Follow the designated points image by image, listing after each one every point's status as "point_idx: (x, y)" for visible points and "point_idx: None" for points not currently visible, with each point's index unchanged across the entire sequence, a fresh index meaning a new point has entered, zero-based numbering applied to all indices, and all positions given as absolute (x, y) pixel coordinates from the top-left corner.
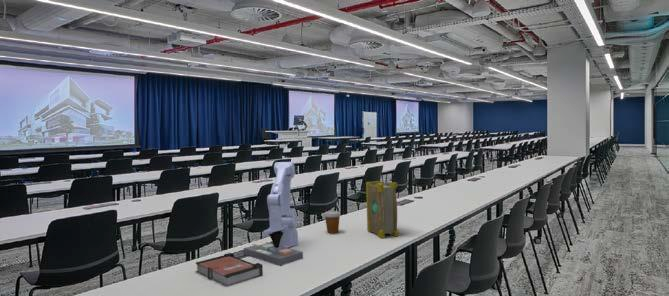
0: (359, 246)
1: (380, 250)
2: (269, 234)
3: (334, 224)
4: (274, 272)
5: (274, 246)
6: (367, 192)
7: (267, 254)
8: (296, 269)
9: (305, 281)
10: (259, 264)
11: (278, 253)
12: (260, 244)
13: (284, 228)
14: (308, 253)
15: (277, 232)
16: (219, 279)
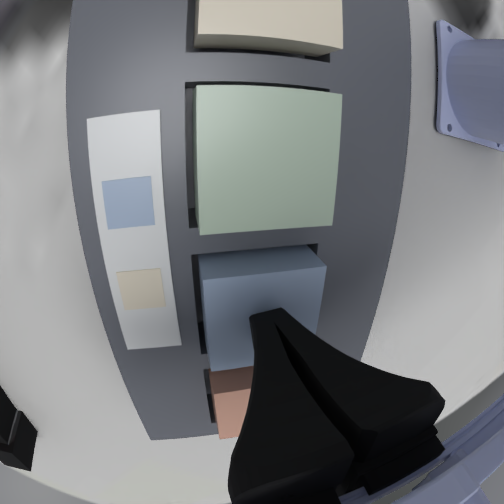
0: (492, 347)
1: (462, 398)
2: (231, 478)
3: None
4: (89, 441)
5: (251, 330)
6: None
7: (123, 335)
8: (187, 459)
9: (150, 500)
10: (18, 464)
11: (210, 379)
12: (244, 11)
13: (496, 421)
14: (405, 326)
15: (354, 487)
16: None
